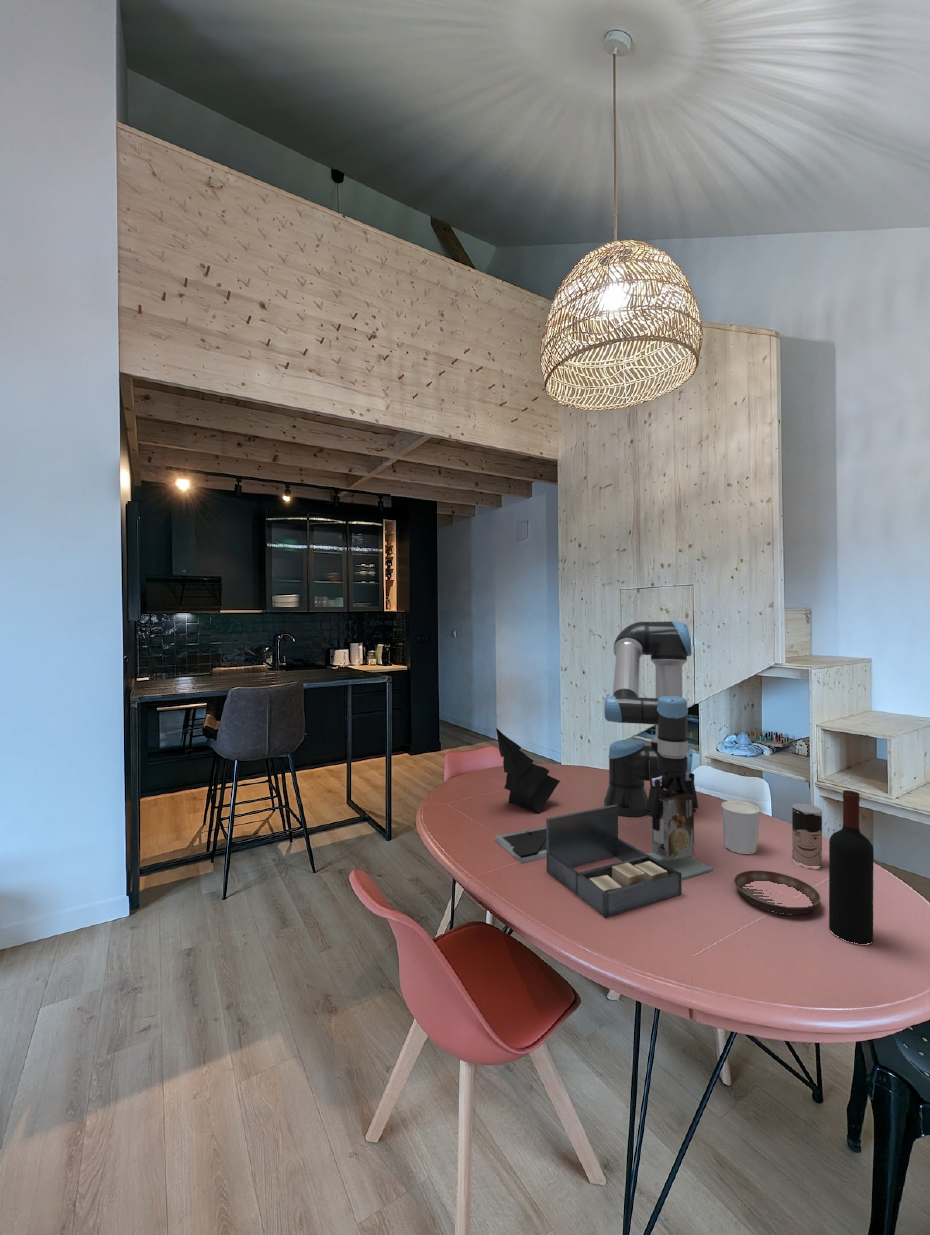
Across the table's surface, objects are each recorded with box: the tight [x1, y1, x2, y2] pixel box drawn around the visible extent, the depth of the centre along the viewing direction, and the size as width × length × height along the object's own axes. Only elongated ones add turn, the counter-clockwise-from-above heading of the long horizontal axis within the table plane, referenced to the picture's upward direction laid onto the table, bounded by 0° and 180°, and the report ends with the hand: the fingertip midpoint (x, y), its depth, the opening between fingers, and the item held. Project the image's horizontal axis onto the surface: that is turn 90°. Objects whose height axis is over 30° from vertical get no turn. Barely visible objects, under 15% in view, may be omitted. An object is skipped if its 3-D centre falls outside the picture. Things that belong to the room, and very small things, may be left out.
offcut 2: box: [634, 861, 667, 881], centre depth 132 cm, size 5×6×5 cm
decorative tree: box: [495, 727, 561, 815], centre depth 185 cm, size 15×15×35 cm
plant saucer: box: [733, 869, 821, 916], centre depth 127 cm, size 18×18×3 cm
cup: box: [791, 803, 823, 866], centre depth 144 cm, size 7×7×15 cm
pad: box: [646, 851, 714, 881], centre depth 144 cm, size 14×14×1 cm
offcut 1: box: [589, 875, 622, 892], centre depth 126 cm, size 5×6×4 cm
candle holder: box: [721, 800, 761, 854], centre depth 154 cm, size 10×10×12 cm
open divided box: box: [545, 805, 683, 919], centre depth 135 cm, size 23×24×14 cm
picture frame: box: [494, 825, 547, 864], centre depth 157 cm, size 16×3×21 cm
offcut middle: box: [612, 863, 645, 888], centre depth 129 cm, size 5×6×6 cm
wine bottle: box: [828, 789, 874, 944], centre depth 113 cm, size 8×8×30 cm
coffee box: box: [651, 790, 695, 861], centre depth 144 cm, size 9×6×16 cm
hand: (672, 838), depth 144 cm, fingers closed on coffee box, 9 cm apart
